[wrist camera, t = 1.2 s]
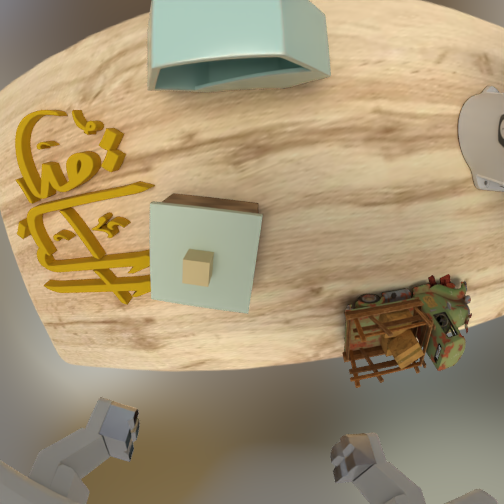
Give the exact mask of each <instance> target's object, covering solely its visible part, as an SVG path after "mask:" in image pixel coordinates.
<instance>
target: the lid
mask: <svg viewBox="0 0 504 504" xmlns="http://www.w3.org/2000/svg"><path fill="white" fill-rule="evenodd" d="M262 217H263V214H257V213H250V212H242V211H234V210H226V209H218V208H210V207H201V206H192V205H183V204H173V203H164V202H154V201H153V202H151V203H150V279H151V299H154V300H160V301H165V302H171V303H178V304H184V305H190V306H197V307H203V308H210V309H217V310H224V311H232V312H239V313H247V314H248V311H249V305H250V298H251V291H252V285H253V278H254V271H255V264H256V258H257V251H258V244H259V237H260V231H261V224H262Z"/></svg>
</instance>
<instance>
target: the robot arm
mask: <svg viewBox="0 0 504 504" xmlns="http://www.w3.org/2000/svg"><path fill="white" fill-rule="evenodd" d="M458 134H459V142H460V147H461V150H462V153H463V156H464V158H465V160H466V162H467V164H468V165H469V167H470V169H471V171H472V175H473V180H474V184H475V187H476V188H477V189H482V190H492V191H502V192H504V93H500V92H499V91H498V90H497V89H496V88H495V87H493V86H487V87H486V88H485V89H484V90H483V92H482V93H480V94H478V95H474V96H472V97H470V98H469V99H468V100H467V101H466V102H465V104H464V106H463V108H462V110H461V113H460V117H459V124H458ZM484 182H485V184H484ZM138 414H139V413H138V409H137V408H133V407H130V406H127V405H123V404H120V403H117V402H114V401H111V400H108V399H105V398H102V397H100V399H99V400H98V401H97V404H96V406H95V408H94V410H93V412H92V415H91V417H90V419H89V421H88V424H87V426H86V428H85V429H84V428H81V429H79V430H77V431H75V432H74V433H72V434H70V435H69V436H67V437H65V438H63V439H61V440H60V441H58V442H56V443H54V444H52V445H51V446H49V447H47V448H45V449H43V450H41V451H39V454H38V456H37V458H36V460H35V462H34V464H33V467H32V469H31V471H30V474H29V476H28V477H26V476H25V475H23V474H21V473H20V472H18V471H16V470H15V469H13V468H12V467H10V466H8V465H7V464H5V463H4V462H2V461H1V460H0V504H86V503H87V499H88V495H89V490H88V489H87V487H86V486H85V485H84V483H83V482H82V481H81V478H83V477H84V476H86V475H87V474H88V473H89V472H91V471H92V470H93V469H95V468H96V467H97V466H99V465H100V464H101V463H103V462H104V461H105V460H106V459H108V458H109V456H112V457H115V458H118V459H122V460H125V461H129V462H130V460H131V457H132V453H133V450H134V447H133V442H134V441H135V440H137V436H138V432H139V424H140V423H139V419H138V418H137V417H138ZM330 457H331V463H333V465H335V468H334V470H333V474H334V479H335V483H343V482H352V483H353V484H354V485H355V486H356V487H357V489H358V490H359V491H360V492H361V493H362V495H363V496H364V497H365V498H366V499H367V500H368V502H369V503H370V504H426V503H425V500H424V497H423V494H422V490H421V488H420V487H418V486H417V485H416V484H415V483H413V482H412V481H411V480H410V479H409V478H408V477H406V476H405V475H404V474H403V473H402V472H401V471H399V470H398V469H397V468H396V467H395V466H394V465H392V464H391V463H390V462H387V461H386V458H385V455H384V452H383V449H382V446H381V443H380V440H379V438H378V435H377V434H376V433H362V434H347V435H343V436H342V437H341V438H340V442H338V443H336V444H335V445H334V446H333V447H332V450H331V456H330ZM445 504H498V502H497V501H496V499H495V498H493V497H492V496H491V495H489V494H488V493H486V492H485V491H483V490H481V489H475V490H473V491H471V492H469V493H467V494H465V495H462V496H461V497H458V498H456V499H454V500H452V501H449V502H447V503H445Z"/></svg>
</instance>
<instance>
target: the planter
mask: <svg viewBox="0 0 504 504" xmlns="http://www.w3.org/2000/svg"><path fill="white" fill-rule="evenodd" d="M150 9H151V10H150V15H149V22H148V29H147V86H148V90H149V91H189V92H206V93H210V92H220V91H233V90H250V89H284V88H288V87H292V86H296V85H299V84H303V83H307V82H311V81H315V80H319V79H323V78H327V77H330V76H331V71H330V58H329V46H328V36H327V26H326V17H325V14H324V13H323V12H322V11H321V10H319V9H318V8H317V7H316V6H315V5H314V4H312V3H311V2H310V1H309V0H152V2H151V8H150Z"/></svg>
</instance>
